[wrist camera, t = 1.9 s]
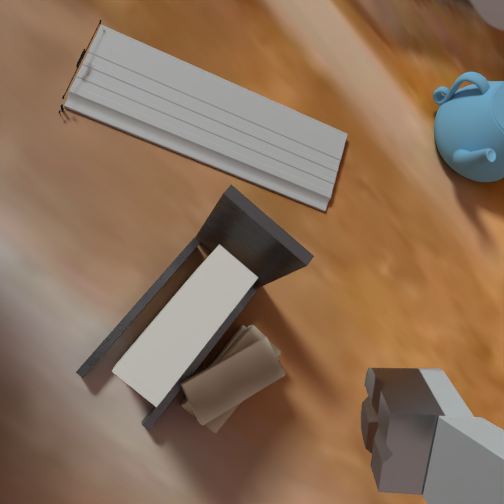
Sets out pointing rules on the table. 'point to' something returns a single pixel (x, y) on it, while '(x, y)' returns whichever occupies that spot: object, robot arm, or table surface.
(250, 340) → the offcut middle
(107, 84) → the baseboard molding
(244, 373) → the offcut top
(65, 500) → the table surface
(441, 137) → the teapot
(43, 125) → the table surface
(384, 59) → the table surface
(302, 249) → the rack
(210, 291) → the off-white wooden block
